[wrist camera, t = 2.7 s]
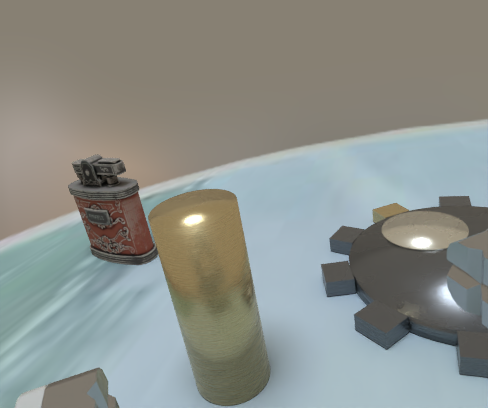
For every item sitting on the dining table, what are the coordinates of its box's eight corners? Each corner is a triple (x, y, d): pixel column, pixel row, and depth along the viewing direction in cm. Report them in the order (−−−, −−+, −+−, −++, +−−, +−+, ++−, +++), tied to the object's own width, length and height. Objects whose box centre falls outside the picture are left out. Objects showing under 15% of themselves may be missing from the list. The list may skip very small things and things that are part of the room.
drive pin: (204, 417, 23) (152, 237, 18) (191, 361, 27) (145, 203, 22) (280, 388, 24) (247, 211, 19) (256, 338, 27) (224, 182, 23)
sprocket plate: (445, 436, 19) (445, 416, 19) (286, 247, 37) (284, 234, 37) (753, 304, 23) (760, 284, 23) (474, 190, 41) (474, 178, 41)
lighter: (84, 256, 43) (50, 163, 39) (109, 240, 45) (79, 151, 41) (141, 268, 39) (109, 165, 35) (165, 250, 41) (138, 151, 37)
